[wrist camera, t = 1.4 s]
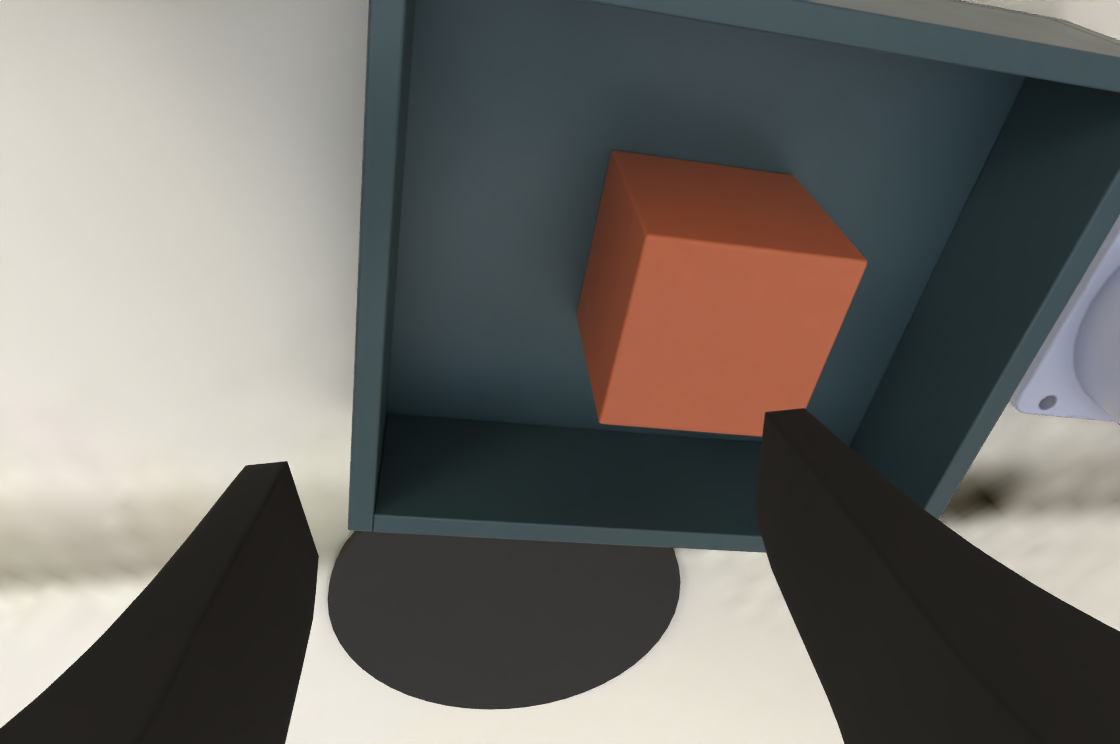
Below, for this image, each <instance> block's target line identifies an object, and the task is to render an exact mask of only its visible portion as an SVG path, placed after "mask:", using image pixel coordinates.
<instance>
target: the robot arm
mask: <svg viewBox="0 0 1120 744" xmlns="http://www.w3.org/2000/svg"><path fill="white" fill-rule="evenodd" d="M1045 397H1046V398H1045ZM1043 398H1045V399H1044V400H1042V399H1043ZM1011 403H1012V404H1013V405H1014V407H1015V408H1016V409H1017V410H1018V411H1019V412H1021V413H1025V414H1036V415H1047V416H1058V417H1069V418H1081V419H1092V420H1103V421H1114V422H1117V423H1118V424H1119V425H1120V215H1119V217H1118V219H1117V220H1116V222H1115V224H1114V225H1113V227H1112V229H1111V230H1110V232H1109V234H1108V236H1107V237H1106V239H1105V241H1104V242H1103V244H1102V246H1101V247H1100V249H1099V251H1098V252H1097V254H1096V256H1095V257H1094V259H1093V261H1092V262H1091V264H1090V266H1089V267H1088V269H1087V271H1086V272H1085V274H1084V276H1083V278H1082V279H1081V281H1080V283H1079V284H1078V286H1077V288H1076V289H1075V291H1074V293H1073V294H1072V296H1071V298H1070V299H1069V301H1068V303H1067V304H1066V306H1065V308H1064V309H1063V311H1062V313H1061V314H1060V316H1059V318H1058V320H1057V321H1056V323H1055V325H1054V326H1053V328H1052V330H1051V331H1050V333H1049V335H1048V336H1047V338H1046V340H1045V341H1044V343H1043V345H1042V346H1041V348H1040V350H1039V351H1038V353H1037V355H1036V357H1035V358H1034V360H1033V362H1032V363H1031V365H1030V367H1029V368H1028V370H1027V372H1026V373H1025V375H1024V377H1023V378H1022V380H1021V382H1020V383H1019V385H1018V387H1017V388H1016V390H1015V392H1014V393H1013V395H1012V397H1011ZM754 511H755V514H756V518H757V521H758V525H759V528H760V532H761V535H762V539H763V543H764V546H765V549H766V552H767V556H768V559H769V562H770V566H771V569H772V571H773V573H774V576H775V578H776V581H777V583H778V585H779V588H780V590H781V592H782V594H783V597H784V599H785V601H786V604H787V606H788V608H789V611H790V613H791V615H792V618H793V620H794V622H795V624H796V627H797V629H798V631H799V634H800V636H801V638H802V640H803V643H804V645H805V647H806V649H807V652H808V654H809V656H810V659H811V661H812V663H813V665H814V668H815V670H816V672H817V674H818V677H819V679H820V681H821V684H822V686H823V688H824V690H825V693H826V695H827V697H828V700H829V702H830V705H831V708H832V710H833V713H834V715H835V718H836V720H837V723H838V725H839V728H840V731H841V734H842V738H843V741H844V744H1120V631H1118V630H1116V629H1114V628H1112V627H1110V626H1108V625H1106V624H1104V623H1102V622H1101V621H1099V620H1097V619H1095V618H1093V617H1091V616H1090V615H1088V614H1086V613H1084V612H1082V611H1080V610H1079V609H1077V608H1075V607H1073V606H1071V605H1069V604H1068V603H1066V602H1064V601H1062V600H1060V599H1058V598H1057V597H1055V596H1053V595H1052V594H1050V593H1048V592H1046V591H1045V590H1043V589H1041V588H1040V587H1038V586H1036V585H1035V584H1033V583H1031V582H1030V581H1028V580H1027V579H1025V578H1023V577H1022V576H1020V575H1019V574H1017V573H1015V572H1014V571H1012V570H1011V569H1009V568H1008V567H1006V566H1004V565H1003V564H1001V563H1000V562H998V561H996V560H995V559H993V558H992V557H990V556H989V555H987V554H986V553H984V552H983V551H981V550H980V549H978V548H977V547H975V546H974V545H972V544H971V543H969V542H968V541H967V540H965V539H964V538H962V537H961V536H960V535H958V534H957V533H956V532H954V531H953V530H951V529H950V528H949V527H947V526H946V525H945V524H943V523H942V522H941V521H939V520H938V519H936V518H935V517H934V516H932V515H931V514H930V513H928V512H927V511H926V510H924V509H923V508H922V507H921V506H919V505H918V504H917V503H915V502H914V501H913V500H912V499H910V498H909V497H908V496H906V495H905V494H904V493H903V492H902V491H900V490H899V489H898V488H897V487H895V486H894V485H893V484H892V483H891V482H889V481H888V480H887V479H886V478H884V477H883V476H882V475H881V474H880V473H878V472H877V471H876V470H875V469H874V468H873V467H871V466H870V465H869V464H868V463H867V462H866V461H864V460H863V459H862V458H861V457H860V456H859V455H858V454H856V453H855V452H854V451H853V450H852V449H851V448H849V447H848V446H847V445H846V444H845V443H844V442H843V441H842V440H840V439H839V438H838V437H837V436H836V435H835V434H834V433H832V432H831V431H830V430H829V429H828V428H827V427H826V426H825V425H823V424H822V423H821V422H820V421H819V420H818V419H817V418H815V417H814V416H813V415H812V414H811V413H810V412H809V411H807V410H806V409H805V408H800V409H790V410H780V411H770V412H765V416H764V425H763V434H762V443H761V452H760V461H759V470H758V479H757V488H756V497H755V506H754ZM318 558H319V556H318V553H317V550H316V547H315V544H314V541H313V538H312V535H311V532H310V529H309V526H308V523H307V520H306V517H305V514H304V511H303V508H302V505H301V502H300V499H299V496H298V493H297V490H296V486H295V483H294V480H293V477H292V474H291V471H290V468H289V465H288V462H287V461H285V462H276V463H266V464H256V465H247V466H245V467H244V468H243V470H242V471H241V472H240V473H239V474H238V476H237V477H236V478H235V479H234V480H233V482H232V483H231V484H230V485H229V487H228V488H227V489H226V490H225V492H224V493H223V494H222V495H221V497H220V498H219V499H218V500H217V502H216V503H215V504H214V506H213V507H212V508H211V509H210V511H209V512H208V513H207V514H206V516H205V517H204V518H203V519H202V521H201V522H200V523H199V524H198V526H197V527H196V528H195V529H194V531H193V532H192V533H191V534H190V536H189V537H188V538H187V539H186V541H185V542H184V543H183V544H182V545H181V547H180V548H179V549H178V550H177V551H176V553H175V554H174V555H173V556H172V557H171V559H170V560H169V561H168V562H167V563H166V565H165V566H164V567H163V568H162V569H161V571H160V572H159V573H158V574H157V575H156V577H155V578H154V579H153V580H152V581H151V582H150V583H149V585H148V586H147V587H146V588H145V589H144V590H143V591H142V592H141V594H140V595H139V596H138V597H137V598H136V599H135V600H134V601H133V602H132V603H131V605H130V606H129V607H128V608H127V609H126V610H125V611H124V612H123V613H122V614H121V615H120V617H119V618H118V619H117V620H116V621H115V622H114V623H113V624H112V625H111V626H110V628H109V629H108V630H107V631H106V632H105V633H104V634H103V635H102V636H101V637H100V638H99V639H98V640H97V641H96V642H95V643H94V644H93V645H92V646H91V647H90V648H89V649H88V650H87V651H86V652H85V653H84V654H83V655H82V656H81V657H80V658H79V659H78V660H77V661H76V662H75V663H74V664H73V665H71V666H70V667H69V668H68V669H67V670H66V671H65V672H64V673H63V674H62V675H61V676H60V677H59V678H58V679H57V680H55V681H54V682H53V683H52V684H51V685H50V686H49V687H48V688H47V689H46V690H45V691H44V692H43V693H41V694H40V695H39V696H38V697H37V698H36V699H35V700H34V701H32V702H31V703H30V704H29V705H28V706H27V707H25V708H24V709H23V710H22V711H21V712H19V713H18V714H17V715H16V716H15V717H13V718H12V719H11V720H10V721H9V722H7V723H6V724H5V725H4V726H3V727H2V728H0V744H285V741H286V737H287V732H288V728H289V724H290V719H291V715H292V710H293V706H294V702H295V697H296V693H297V689H298V684H299V680H300V676H301V671H302V667H303V662H304V658H305V653H306V649H307V644H308V640H309V635H310V630H311V625H312V621H313V613H314V603H315V594H316V582H317V570H318Z"/></svg>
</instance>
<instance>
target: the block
mask: <svg viewBox="0 0 1120 744" xmlns="http://www.w3.org/2000/svg"><path fill="white" fill-rule="evenodd" d="M866 266H867V260H866V259H865V258H864V257H863V255H862V254H861V253H860V252H859V251H858V250H857V248H856V247H855V246H854V245H853V244H852V243H851V241H850V240H849V239H848V238H847V237H846V236H845V235H844V233H843V232H842V231H841V230H840V229H839V228H838V226H837V225H836V224H835V223H834V222H833V221H832V219H831V218H830V217H829V216H828V215H827V214H826V212H825V211H824V210H823V209H822V208H821V207H820V206H819V204H818V203H817V202H816V201H815V200H814V199H813V197H812V196H811V195H810V194H809V193H808V192H807V190H806V189H805V188H804V187H803V186H802V185H801V184H800V182H799V181H798V180H797V179H796V178H795V177H794V176H793V175H788V174H781V173H774V172H767V171H759V170H752V169H745V168H738V167H731V166H723V165H716V164H709V163H702V162H695V161H687V160H680V159H673V158H666V157H659V156H652V155H644V154H637V153H630V152H623V151H616V150H615V151H612V153H611V156H610V160H609V165H608V170H607V174H606V179H605V184H604V188H603V193H602V198H601V202H600V207H599V212H598V216H597V221H596V226H595V230H594V235H593V240H592V244H591V249H590V254H589V259H588V263H587V268H586V273H585V277H584V282H583V287H582V291H581V296H580V301H579V305H578V310H577V315H576V316H577V321H578V326H579V330H580V335H581V340H582V345H583V349H584V354H585V359H586V363H587V368H588V373H589V377H590V382H591V387H592V392H593V396H594V401H595V406H596V410H597V415H598V420H599V423H601V424H609V425H621V426H634V427H647V428H659V429H672V430H684V431H697V432H710V433H722V434H735V435H748V436H760V437H762V434H763V425H764V416H765V412H770V411H780V410H790V409H800V408H805V409H806V407H807V405H808V402H809V400H810V398H811V395H812V393H813V391H814V388H815V386H816V384H817V381H818V379H819V377H820V374H821V372H822V370H823V367H824V365H825V363H826V360H827V358H828V356H829V353H830V351H831V348H832V346H833V344H834V341H835V339H836V337H837V334H838V332H839V330H840V327H841V325H842V323H843V320H844V318H845V316H846V313H847V311H848V309H849V306H850V304H851V302H852V299H853V297H854V294H855V292H856V290H857V287H858V285H859V283H860V280H861V278H862V276H863V273H864V271H865V269H866Z"/></svg>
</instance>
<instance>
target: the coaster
mask: <svg viewBox="0 0 1120 744" xmlns="http://www.w3.org/2000/svg"><path fill="white" fill-rule="evenodd" d="M679 591H680V575H679V567H678V563H677V560H676V557H675V553H674V550H673V548H670V547H651V546H632V545H613V544H594V543H576V542H557V541H538V540H519V539H500V538H481V537H462V536H443V535H424V534H405V533H386V532H374V531H373V530H372V531H355V532H354V533H353V534H352V536H351V537H350V538H349V540H348V541H347V542H346V543H345V545H344V547H343V548H342V550H341V552H340V554H339V556H338V558H337V559H336V562H335V565H334V568H333V571H332V574H331V578H330V584H329V592H328V610H329V617H330V620H331V624H332V627H333V630H334V632H335V634H336V636H337V638H338V640H339V642H340V644H341V645H342V647H343V648H344V649H345V651H346V652H347V653H348V655H349V656H350V657H351V658H352V659H353V660H354V661H355V662H356V663H357V664H358V665H359V666H360V667H361V668H362V669H363V670H365V671H366V672H367V673H369V674H370V675H371V676H373V677H374V678H375V679H377V680H379V681H380V682H382V683H384V684H386V685H387V686H389V687H391V688H393V689H395V690H398V691H400V692H402V693H405V694H407V695H409V696H412V697H416V698H419V699H422V700H425V701H428V702H433V703H437V704H442V705H446V706H454V707H461V708H471V709H511V708H521V707H529V706H535V705H541V704H546V703H550V702H554V701H558V700H562V699H566V698H569V697H572V696H575V695H578V694H581V693H583V692H586V691H588V690H591V689H593V688H595V687H597V686H600V685H602V684H604V683H606V682H607V681H609V680H611V679H613V678H615V677H616V676H618V675H620V674H621V673H623V672H624V671H626V670H627V669H629V668H630V667H631V666H633V665H634V664H635V663H637V662H638V661H639V660H640V659H641V658H642V657H643V656H645V655H646V654H647V653H648V652H649V651H650V650H651V649H652V647H653V646H654V645H655V644H656V643H657V642H658V641H659V639H660V638H661V636H662V635H663V634H664V632H665V631H666V629H667V628H668V626H669V624H670V622H671V620H672V617H673V615H674V613H675V610H676V606H677V603H678V599H679Z"/></svg>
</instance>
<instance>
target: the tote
mask: <svg viewBox="0 0 1120 744" xmlns="http://www.w3.org/2000/svg"><path fill="white" fill-rule="evenodd" d="M615 150H616V151H623V152H630V153H637V154H644V155H652V156H659V157H666V158H673V159H680V160H687V161H695V162H702V163H709V164H716V165H723V166H731V167H738V168H745V169H752V170H759V171H767V172H774V173H781V174H788V175H793V176H794V177H795V178H796V179H797V180H798V181H799V182H800V184H801V185H802V186H803V187H804V188H805V189H806V190H807V192H808V193H809V194H810V195H811V196H812V197H813V199H814V200H815V201H816V202H817V203H818V204H819V206H820V207H821V208H822V209H823V210H824V211H825V212H826V214H827V215H828V216H829V217H830V218H831V219H832V221H833V222H834V223H835V224H836V225H837V226H838V228H839V229H840V230H841V231H842V232H843V233H844V235H845V236H846V237H847V238H848V239H849V240H850V241H851V243H852V244H853V245H854V246H855V247H856V248H857V250H858V251H859V252H860V253H861V254H862V255H863V257H864V258H865V259H866V260H867V266H866V269H865V271H864V273H863V276H862V278H861V280H860V283H859V285H858V287H857V290H856V292H855V294H854V297H853V299H852V302H851V304H850V306H849V309H848V311H847V313H846V316H845V318H844V320H843V323H842V325H841V327H840V330H839V332H838V334H837V337H836V339H835V341H834V344H833V346H832V348H831V351H830V353H829V356H828V358H827V360H826V363H825V365H824V367H823V370H822V372H821V374H820V377H819V379H818V381H817V384H816V386H815V388H814V391H813V393H812V395H811V398H810V400H809V402H808V405H807V407H806V410H807V411H809V412H810V413H811V414H812V415H813V416H814V417H815V418H817V419H818V420H819V421H820V422H821V423H822V424H823V425H825V426H826V427H827V428H828V429H829V430H830V431H831V432H832V433H834V434H835V435H836V436H837V437H838V438H839V439H840V440H842V441H843V442H844V443H845V444H846V445H847V446H848V447H849V448H851V449H852V450H853V451H854V452H855V453H856V454H858V455H859V456H860V457H861V458H862V459H863V460H864V461H866V462H867V463H868V464H869V465H870V466H871V467H873V468H874V469H875V470H876V471H877V472H878V473H880V474H881V475H882V476H883V477H884V478H886V479H887V480H888V481H889V482H891V483H892V484H893V485H894V486H895V487H897V488H898V489H899V490H900V491H902V492H903V493H904V494H905V495H906V496H908V497H909V498H910V499H912V500H913V501H914V502H915V503H917V504H918V505H919V506H921V507H922V508H923V509H924V510H926V511H927V512H928V513H930V514H931V515H932V516H934V517H935V518H936V519H938V520H939V518H940V516H941V514H942V513H943V511H944V509H945V508H946V506H947V504H948V503H949V501H950V499H951V498H952V496H953V494H954V493H955V491H956V489H957V488H958V486H959V484H960V483H961V481H962V479H963V478H964V476H965V474H966V472H967V471H968V469H969V467H970V466H971V464H972V462H973V461H974V459H975V457H976V456H977V454H978V452H979V451H980V449H981V447H982V446H983V444H984V442H985V441H986V439H987V437H988V435H989V434H990V432H991V430H992V429H993V427H994V425H995V424H996V422H997V420H998V419H999V417H1000V415H1001V414H1002V412H1003V410H1004V409H1005V407H1006V405H1007V404H1008V402H1009V400H1010V399H1011V397H1012V395H1013V393H1014V392H1015V390H1016V388H1017V387H1018V385H1019V383H1020V382H1021V380H1022V378H1023V377H1024V375H1025V373H1026V372H1027V370H1028V368H1029V367H1030V365H1031V363H1032V362H1033V360H1034V358H1035V357H1036V355H1037V353H1038V351H1039V350H1040V348H1041V346H1042V345H1043V343H1044V341H1045V340H1046V338H1047V336H1048V335H1049V333H1050V331H1051V330H1052V328H1053V326H1054V325H1055V323H1056V321H1057V320H1058V318H1059V316H1060V314H1061V313H1062V311H1063V309H1064V308H1065V306H1066V304H1067V303H1068V301H1069V299H1070V298H1071V296H1072V294H1073V293H1074V291H1075V289H1076V288H1077V286H1078V284H1079V283H1080V281H1081V279H1082V278H1083V276H1084V274H1085V272H1086V271H1087V269H1088V267H1089V266H1090V264H1091V262H1092V261H1093V259H1094V257H1095V256H1096V254H1097V252H1098V251H1099V249H1100V247H1101V246H1102V244H1103V242H1104V241H1105V239H1106V237H1107V236H1108V234H1109V232H1110V230H1111V229H1112V227H1113V225H1114V224H1115V222H1116V220H1117V219H1118V217H1119V215H1120V41H1119V40H1116V39H1114V38H1111V37H1108V36H1106V35H1103V34H1100V33H1098V32H1095V31H1092V30H1090V29H1087V28H1084V27H1082V26H1079V25H1076V24H1073V23H1071V22H1069V21H1066V20H1062V19H1056V18H1051V17H1046V16H1040V15H1035V14H1030V13H1024V12H1019V11H1013V10H1008V9H1003V8H997V7H992V6H987V5H981V4H976V3H970V2H965V1H960V0H369V12H368V37H367V62H366V87H365V112H364V137H363V162H362V187H361V212H360V237H359V262H358V287H357V312H356V337H355V362H354V387H353V412H352V437H351V462H350V487H349V512H348V529H349V530H353V531H372V530H373V531H374V532H386V533H405V534H424V535H443V536H462V537H481V538H500V539H519V540H538V541H557V542H576V543H594V544H613V545H632V546H651V547H670V548H689V549H708V550H727V551H746V552H765V553H767V552H766V549H765V546H764V543H763V539H762V535H761V532H760V528H759V525H758V521H757V518H756V514H755V511H754V506H755V497H756V488H757V479H758V470H759V461H760V452H761V443H762V437H760V436H748V435H735V434H722V433H710V432H697V431H684V430H672V429H659V428H647V427H634V426H621V425H609V424H601V423H599V420H598V415H597V410H596V406H595V401H594V396H593V392H592V387H591V382H590V377H589V373H588V368H587V363H586V359H585V354H584V349H583V345H582V340H581V335H580V330H579V326H578V321H577V316H576V315H577V310H578V305H579V301H580V296H581V291H582V287H583V282H584V277H585V273H586V268H587V263H588V259H589V254H590V249H591V244H592V240H593V235H594V230H595V226H596V221H597V216H598V212H599V207H600V202H601V198H602V193H603V188H604V184H605V179H606V174H607V170H608V165H609V160H610V156H611V153H612V151H615Z"/></svg>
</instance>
